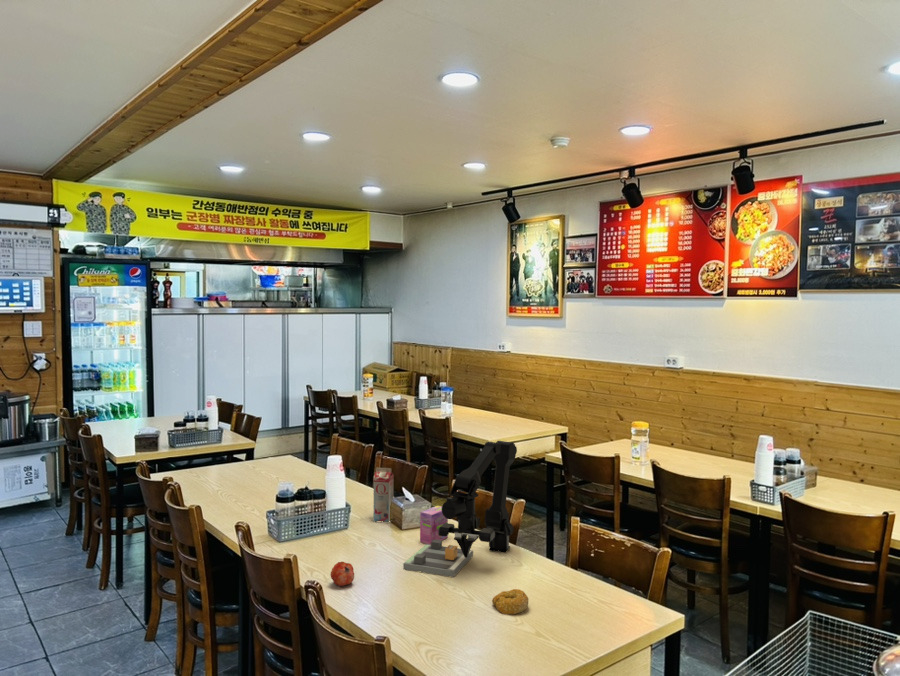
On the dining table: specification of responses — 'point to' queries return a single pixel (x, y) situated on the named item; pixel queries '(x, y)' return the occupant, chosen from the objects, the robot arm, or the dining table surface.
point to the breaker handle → (451, 552)
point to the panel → (436, 560)
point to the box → (431, 524)
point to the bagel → (511, 601)
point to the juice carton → (383, 493)
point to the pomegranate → (342, 573)
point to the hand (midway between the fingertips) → (466, 557)
